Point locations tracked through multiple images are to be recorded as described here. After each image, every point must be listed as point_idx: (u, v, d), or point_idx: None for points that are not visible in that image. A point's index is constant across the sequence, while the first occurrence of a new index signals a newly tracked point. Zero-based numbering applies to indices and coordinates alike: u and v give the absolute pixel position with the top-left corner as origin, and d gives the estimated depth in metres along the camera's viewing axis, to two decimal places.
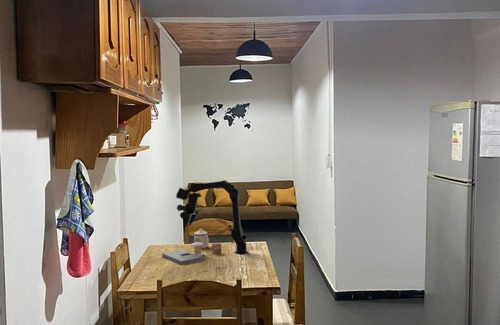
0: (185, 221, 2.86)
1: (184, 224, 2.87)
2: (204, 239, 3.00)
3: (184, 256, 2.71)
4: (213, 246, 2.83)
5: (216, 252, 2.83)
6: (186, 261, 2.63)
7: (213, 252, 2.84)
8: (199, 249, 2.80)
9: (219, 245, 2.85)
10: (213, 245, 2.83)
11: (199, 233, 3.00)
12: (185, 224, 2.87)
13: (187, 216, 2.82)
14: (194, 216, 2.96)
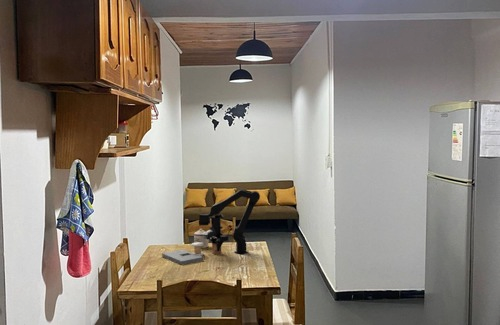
0: (219, 244, 2.83)
1: (218, 247, 2.83)
2: (204, 239, 3.00)
3: (184, 256, 2.71)
4: (213, 246, 2.83)
5: (216, 252, 2.83)
6: (186, 261, 2.63)
7: (213, 252, 2.84)
8: (199, 249, 2.80)
9: None
10: (213, 245, 2.83)
11: (199, 233, 3.00)
12: (219, 247, 2.83)
13: (227, 238, 2.79)
14: (217, 239, 2.88)
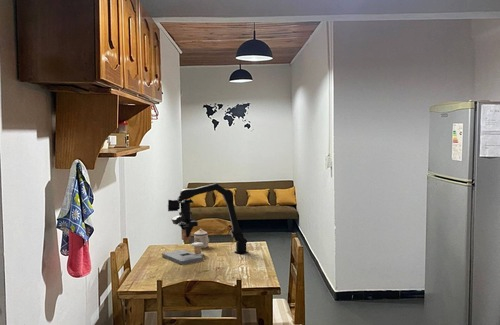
0: (188, 230, 2.75)
1: (187, 233, 2.75)
2: (204, 239, 3.00)
3: (184, 256, 2.71)
4: (183, 232, 2.76)
5: (185, 238, 2.76)
6: (186, 261, 2.63)
7: (182, 238, 2.76)
8: (199, 249, 2.80)
9: None
10: (183, 231, 2.76)
11: (199, 233, 3.00)
12: (189, 233, 2.76)
13: (196, 224, 2.71)
14: None
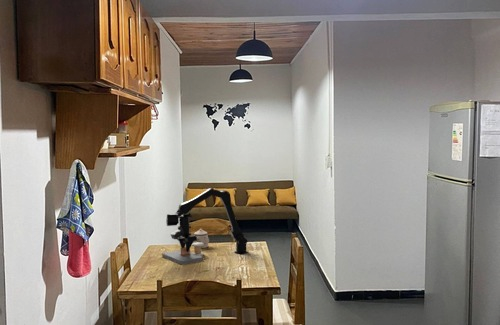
0: (188, 244, 2.72)
1: (187, 248, 2.73)
2: (204, 239, 3.00)
3: (184, 256, 2.71)
4: (182, 251, 2.74)
5: None
6: (186, 261, 2.63)
7: None
8: (199, 249, 2.80)
9: None
10: (182, 250, 2.74)
11: (199, 233, 3.00)
12: (188, 247, 2.73)
13: (195, 238, 2.69)
14: (185, 239, 2.79)
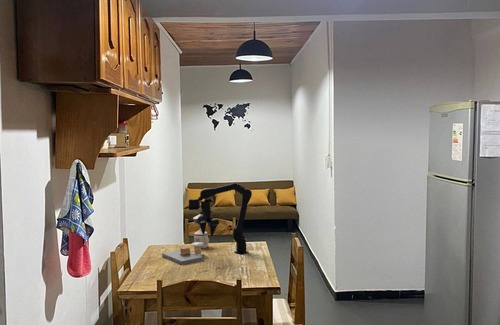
0: (212, 229, 2.80)
1: (212, 232, 2.80)
2: (204, 239, 3.00)
3: (184, 256, 2.71)
4: (182, 251, 2.74)
5: None
6: (186, 261, 2.63)
7: None
8: (199, 249, 2.80)
9: (187, 249, 2.75)
10: (182, 250, 2.74)
11: (199, 233, 3.00)
12: (213, 232, 2.80)
13: (218, 222, 2.78)
14: (204, 223, 2.89)
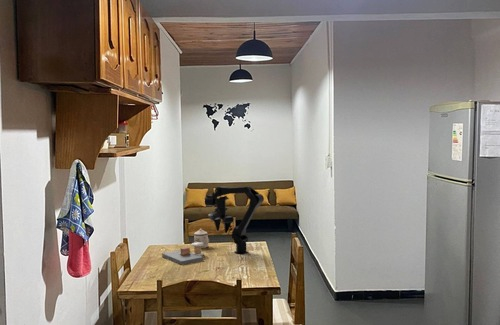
0: (227, 226, 2.86)
1: (226, 229, 2.86)
2: (204, 239, 3.00)
3: (184, 256, 2.71)
4: (182, 251, 2.74)
5: None
6: (186, 261, 2.63)
7: None
8: (199, 249, 2.80)
9: (188, 249, 2.75)
10: (182, 250, 2.74)
11: (199, 233, 3.00)
12: (227, 228, 2.87)
13: (232, 219, 2.84)
14: (219, 220, 2.96)
